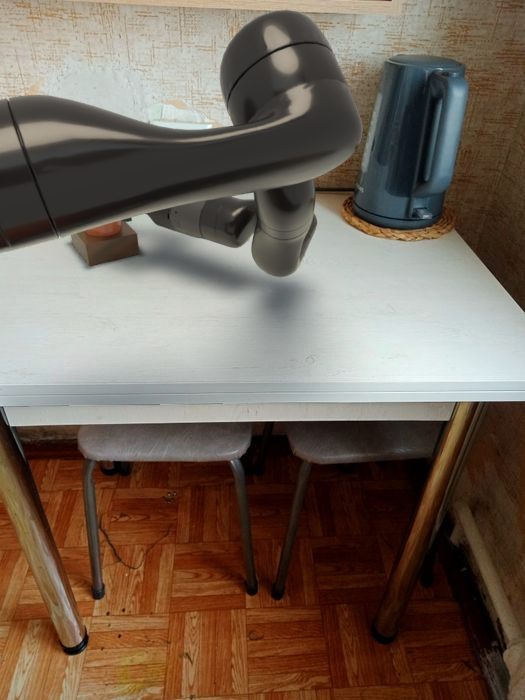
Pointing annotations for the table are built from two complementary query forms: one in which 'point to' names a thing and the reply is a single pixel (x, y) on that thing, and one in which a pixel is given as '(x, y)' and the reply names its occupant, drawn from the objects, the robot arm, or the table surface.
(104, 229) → the cup
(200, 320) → the table surface
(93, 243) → the block
